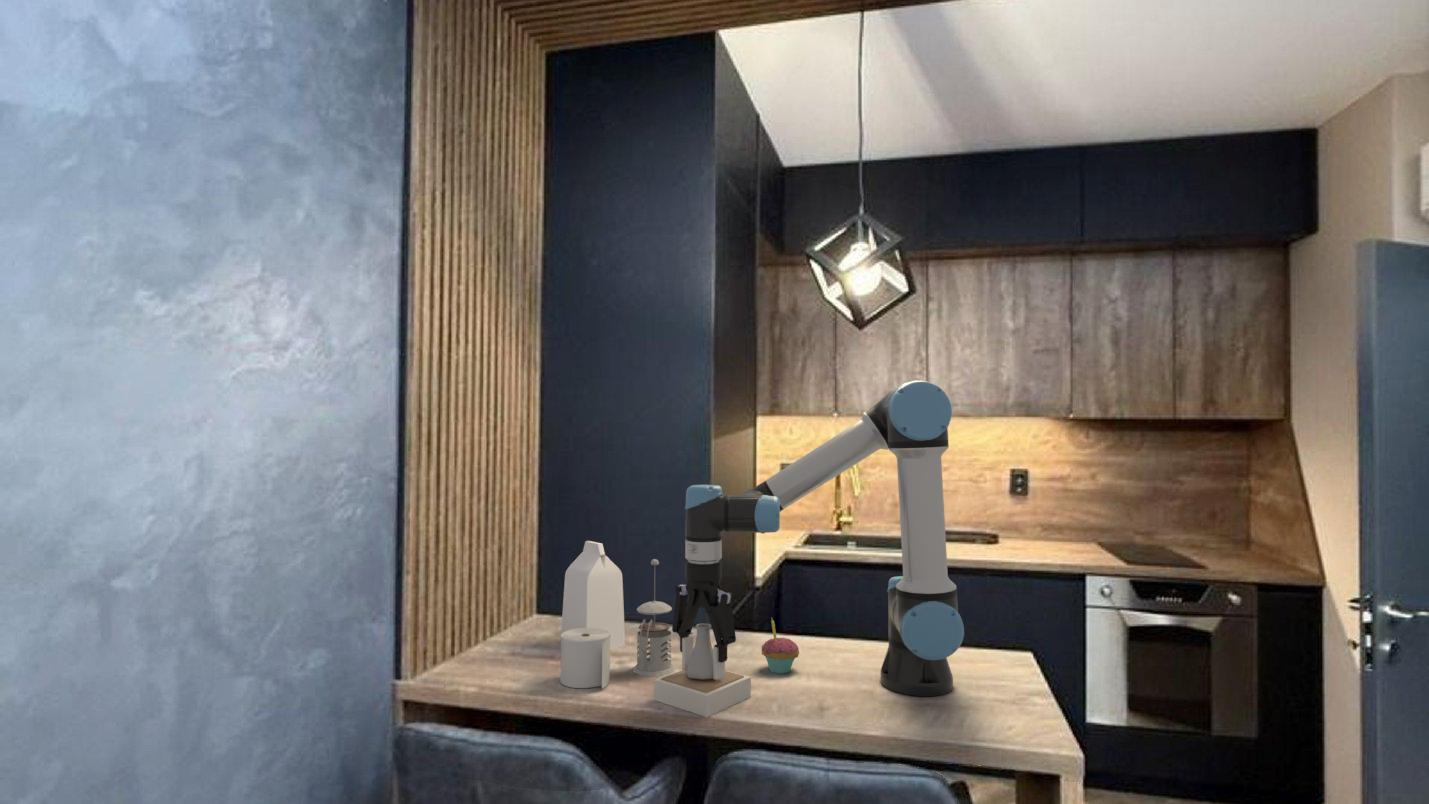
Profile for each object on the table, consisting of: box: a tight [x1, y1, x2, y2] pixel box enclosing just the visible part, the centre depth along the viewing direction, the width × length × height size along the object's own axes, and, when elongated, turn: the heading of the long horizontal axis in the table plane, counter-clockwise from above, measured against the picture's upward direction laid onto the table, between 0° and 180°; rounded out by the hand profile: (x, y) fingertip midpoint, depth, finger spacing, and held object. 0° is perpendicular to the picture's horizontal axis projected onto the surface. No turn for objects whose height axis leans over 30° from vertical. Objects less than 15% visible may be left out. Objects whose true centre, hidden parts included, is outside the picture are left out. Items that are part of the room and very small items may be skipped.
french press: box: [632, 558, 676, 677], centre depth 168 cm, size 10×12×25 cm
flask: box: [686, 623, 713, 679], centre depth 151 cm, size 7×7×10 cm
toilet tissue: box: [560, 628, 611, 690], centre depth 161 cm, size 11×12×10 cm
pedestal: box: [653, 669, 752, 718], centre depth 150 cm, size 14×14×4 cm
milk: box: [560, 540, 626, 651], centre depth 187 cm, size 12×12×26 cm
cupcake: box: [761, 617, 800, 674], centre depth 168 cm, size 9×8×12 cm
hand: (703, 672), depth 150 cm, fingers open, 8 cm apart
